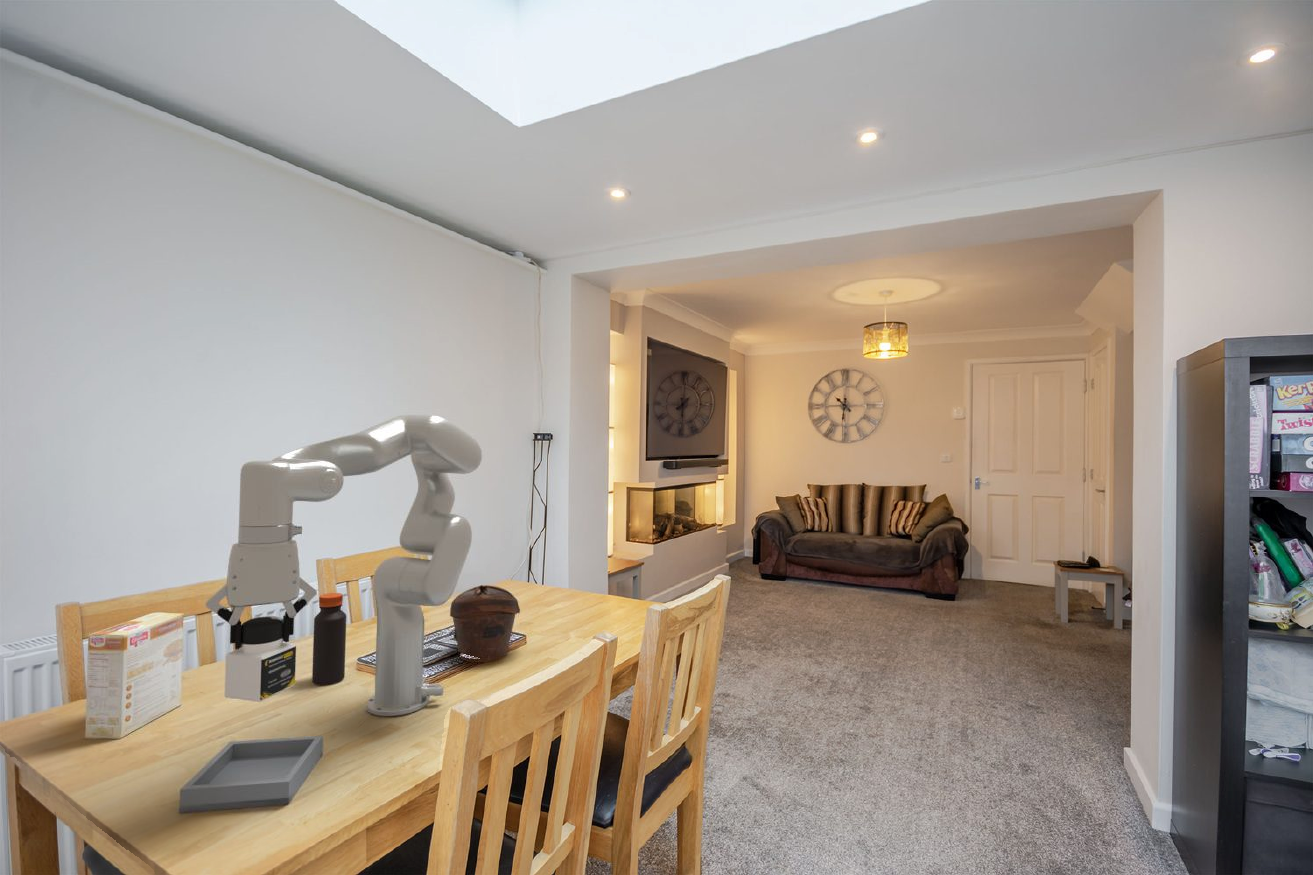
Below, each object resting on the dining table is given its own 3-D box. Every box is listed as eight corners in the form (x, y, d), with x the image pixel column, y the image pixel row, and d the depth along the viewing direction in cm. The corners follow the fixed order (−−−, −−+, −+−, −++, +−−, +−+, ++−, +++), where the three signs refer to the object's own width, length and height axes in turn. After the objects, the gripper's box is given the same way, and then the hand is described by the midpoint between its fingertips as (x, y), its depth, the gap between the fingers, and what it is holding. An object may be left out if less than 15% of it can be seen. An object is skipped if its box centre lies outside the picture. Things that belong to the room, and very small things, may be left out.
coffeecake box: (148, 704, 127) (152, 611, 128) (182, 705, 127) (186, 612, 128) (81, 738, 112) (86, 633, 113) (120, 739, 112) (124, 634, 113)
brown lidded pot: (485, 637, 176) (486, 576, 176) (533, 652, 164) (534, 587, 164) (431, 655, 161) (433, 588, 161) (480, 673, 150) (482, 601, 150)
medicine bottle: (260, 702, 96) (263, 627, 96) (223, 697, 97) (225, 623, 97) (296, 685, 103) (298, 614, 103) (260, 681, 104) (262, 611, 104)
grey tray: (322, 755, 108) (323, 735, 109) (288, 803, 94) (289, 781, 94) (229, 761, 106) (230, 741, 106) (179, 812, 91) (180, 789, 91)
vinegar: (304, 683, 140) (307, 597, 140) (328, 673, 146) (331, 590, 147) (328, 687, 138) (331, 600, 138) (351, 676, 145) (353, 593, 145)
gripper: (321, 529, 108) (318, 629, 108) (201, 535, 98) (197, 646, 98) (327, 534, 102) (324, 640, 102) (200, 542, 92) (196, 660, 92)
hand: (262, 642), depth 100 cm, fingers closed on medicine bottle, 6 cm apart
